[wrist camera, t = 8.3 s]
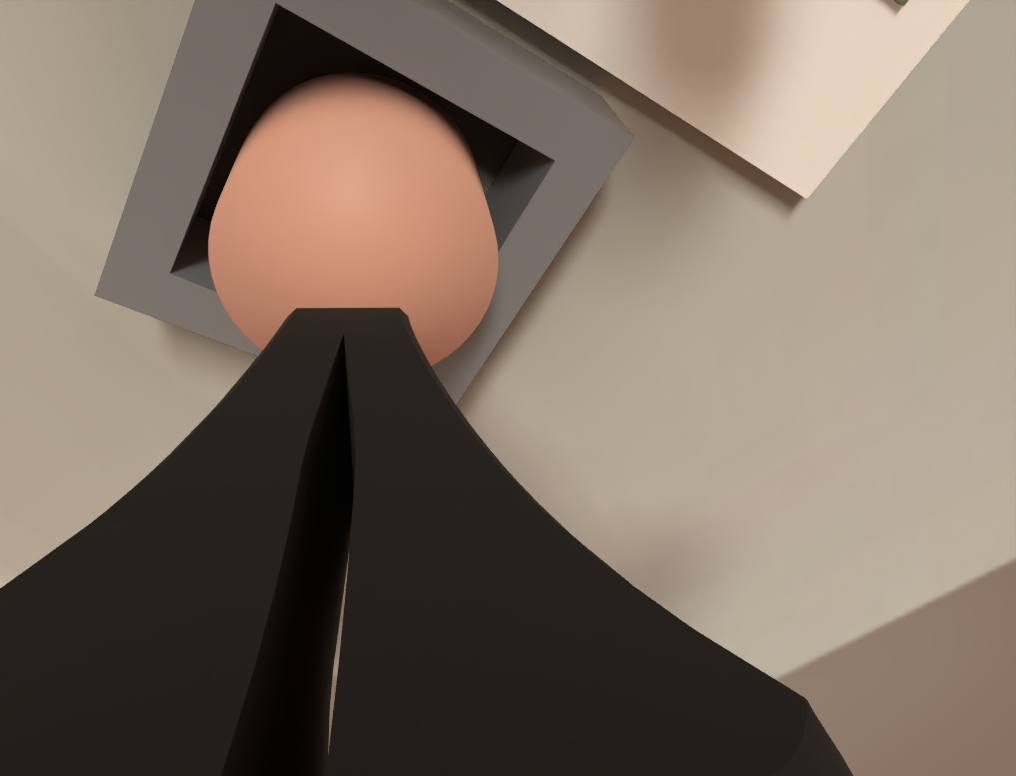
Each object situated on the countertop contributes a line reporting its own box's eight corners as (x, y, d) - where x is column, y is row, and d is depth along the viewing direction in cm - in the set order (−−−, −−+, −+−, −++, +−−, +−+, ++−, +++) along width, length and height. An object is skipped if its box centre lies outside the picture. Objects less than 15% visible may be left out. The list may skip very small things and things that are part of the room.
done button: (523, 150, 14) (551, 212, 12) (414, 333, 16) (419, 416, 14) (292, 20, 12) (273, 64, 10) (201, 244, 14) (168, 322, 12)
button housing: (601, 96, 15) (634, 137, 13) (435, 359, 18) (442, 424, 16) (255, -119, 12) (232, -108, 10) (131, 235, 16) (94, 295, 14)
